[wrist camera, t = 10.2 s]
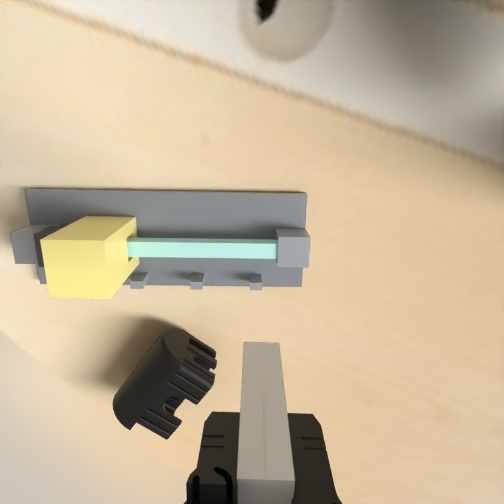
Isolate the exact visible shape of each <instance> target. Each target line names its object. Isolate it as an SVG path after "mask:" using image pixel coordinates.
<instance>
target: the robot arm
mask: <svg viewBox="0 0 504 504" xmlns="http://www.w3.org/2000/svg"><path fill="white" fill-rule="evenodd" d="M186 484H187V485H186V487H187V501H186V502H185V503H184V504H342V503H341V501H340V499H339V498H338V496H337V493H336V490H335V486H334V482H333V477H332V473H331V468H330V464H329V459H328V455H327V451H326V446H325V441H324V437H323V432H322V428H321V425H320V423H319V422H318V421H317V419H316V418H315V417H314V415H313V414H299V413H287V407H286V398H285V389H284V380H283V372H282V363H281V354H280V345H279V343H267V342H244V348H243V367H242V387H241V407H240V413H239V412H212V413H211V414H210V415H209V417H208V418H207V420H206V421H205V422H204V428H203V434H202V440H201V447H200V452H199V458H198V464H197V468H196V469H195V470H194V471H193V472H192V473H191V474H190V476H189V478H188V481H187V483H186Z"/></svg>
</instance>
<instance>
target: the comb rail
mask: <svg viewBox="0 0 504 504" xmlns="http://www.w3.org/2000/svg"><path fill="white" fill-rule="evenodd" d="M25 194H26V200H27V206H28V212H29V218H30V225H28V226H26V227H23V228H21V229H19V230H16V231H14V232H12V233H10V237H11V242H12V248H13V253H14V259H15V264H37V267H38V273H39V279H40V284H47V280H46V274H45V268H44V261H43V255H42V249H41V242H40V240H41V239H42V238H44V237H46V236H48V235H50V234H52V233H54V232H56V231H58V230H60V229H62V228H64V227H66V226H68V225H70V224H72V223H73V222H75V221H77V220H79V219H81V218H83V217H85V216H116V217H136V226H137V238H127V250H128V257H139V265H138V266H137V267H136V268H135V269H134V271H133V272H132V273H131V274H130V276H129V277H128V278H127V279H126V280H125V282H124V283H123V284H122V285H131V289H143V288H144V286H145V285H187V286H190V289H203V286H250V290H262V286H270V287H302V271H303V267H308V266H309V251H310V236H309V234H308V232H307V231H306V229H305V221H306V205H307V194H306V193H285V192H221V191H156V190H92V189H27V190H25Z"/></svg>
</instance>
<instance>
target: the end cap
mask: <svg viewBox="0 0 504 504" xmlns="http://www.w3.org/2000/svg"><path fill="white" fill-rule="evenodd" d="M215 357H216V351H215V350H214V349H212V348H211V347H209V346H207V345H206V344H204V343H203V342H201V341H200V340H198V339H197V338H195V337H193V336H192V335H191V334H189V333H187V332H185V331H183V330H180V329H174V328H172V329H167V330H165V331H164V332H163V333H162V334H161V335H160V337H159V338H158V339H157V341H156V342H155V343H154V344H153V346H152V347H151V348H150V350H149V351H148V352H147V354H146V355H145V356H144V358H143V359H142V360H141V361H140V363H139V364H138V365H137V367H136V368H135V369H134V371H133V372H132V373H131V375H130V376H129V377H128V378H127V380H126V381H125V382H124V384H123V385H122V386H121V388H120V389H119V390H118V392H117V393H116V394H115V396H114V399H113V410H114V413H115V415H116V417H117V419H118V420H119V422H120V423H121V424H122V425H123V426H124V427H126V428H127V429H129V430H131V428H132V427H133V426H134V425H135V423H136V422H137V423H138V424H140V425H142V426H144V427H145V428H147V429H149V430H151V431H152V432H154V433H156V434H158V435H159V436H161V437H163V438H165V439H168V438H169V437H170V436H171V435H172V434H173V432H174V431H175V430H176V429H177V428H178V426H179V425H180V424H181V422H182V420H180V419H179V418H177V417H175V416H174V412H175V410H176V409H177V408H178V407H179V405H180V404H181V403H182V402H183V401H184V399H185V398H186V399H187V400H189V401H191V402H192V403H194V404H196V405H197V404H198V403H199V402H200V401H201V399H202V398H203V397H204V396H205V395H206V393H207V392H208V391H209V390H210V389H211V387H212V386H213V383H214V379H215V374H214V373H212V372H210V371H209V369H210V368H212V369H215V368H216V364H217V360H216V359H215Z"/></svg>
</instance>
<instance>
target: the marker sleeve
mask: <svg viewBox="0 0 504 504" xmlns="http://www.w3.org/2000/svg"><path fill="white" fill-rule="evenodd" d="M127 238H137V226H136V217H116V216H85V217H83V218H81V219H79V220H77V221H75V222H73V223H72V224H70V225H68V226H66V227H64V228H62V229H60V230H58V231H56V232H54V233H52V234H50V235H48V236H46V237H44V238H42V239H41V240H40V242H41V249H42V255H43V261H44V268H45V274H46V280H47V287H48V293H49V298H85V299H110V298H111V297H112V296H113V295H114V294H115V292H116V291H117V290H118V289H119V288H120V286H121V285H122V284H123V283H124V282H125V280H126V279H127V278H128V277H129V276H130V274H131V273H132V272H133V271H134V269H135V268H136V267H137V266H138V265H139V257H128V250H127Z"/></svg>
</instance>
